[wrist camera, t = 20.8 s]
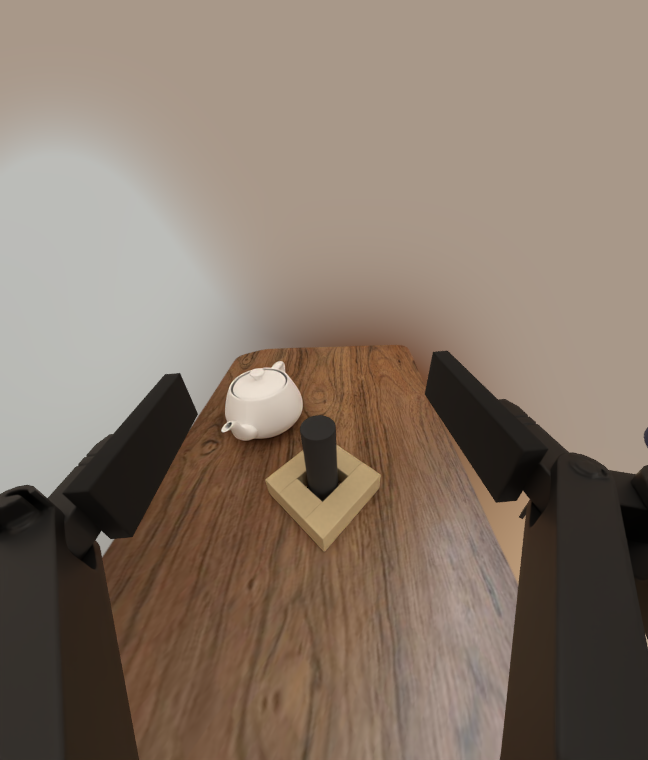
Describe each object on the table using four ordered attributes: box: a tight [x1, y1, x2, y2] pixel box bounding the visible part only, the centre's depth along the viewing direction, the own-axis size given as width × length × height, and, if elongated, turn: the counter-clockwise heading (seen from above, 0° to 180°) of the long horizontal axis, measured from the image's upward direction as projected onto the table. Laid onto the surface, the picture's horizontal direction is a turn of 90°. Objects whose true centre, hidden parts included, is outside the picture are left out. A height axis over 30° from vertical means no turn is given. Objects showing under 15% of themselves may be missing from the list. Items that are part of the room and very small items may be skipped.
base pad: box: [265, 445, 381, 552], centre depth 34 cm, size 11×11×3 cm
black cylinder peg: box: [300, 415, 338, 502], centre depth 32 cm, size 4×4×12 cm
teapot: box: [222, 361, 303, 441], centre depth 45 cm, size 22×14×11 cm, turn 168°
